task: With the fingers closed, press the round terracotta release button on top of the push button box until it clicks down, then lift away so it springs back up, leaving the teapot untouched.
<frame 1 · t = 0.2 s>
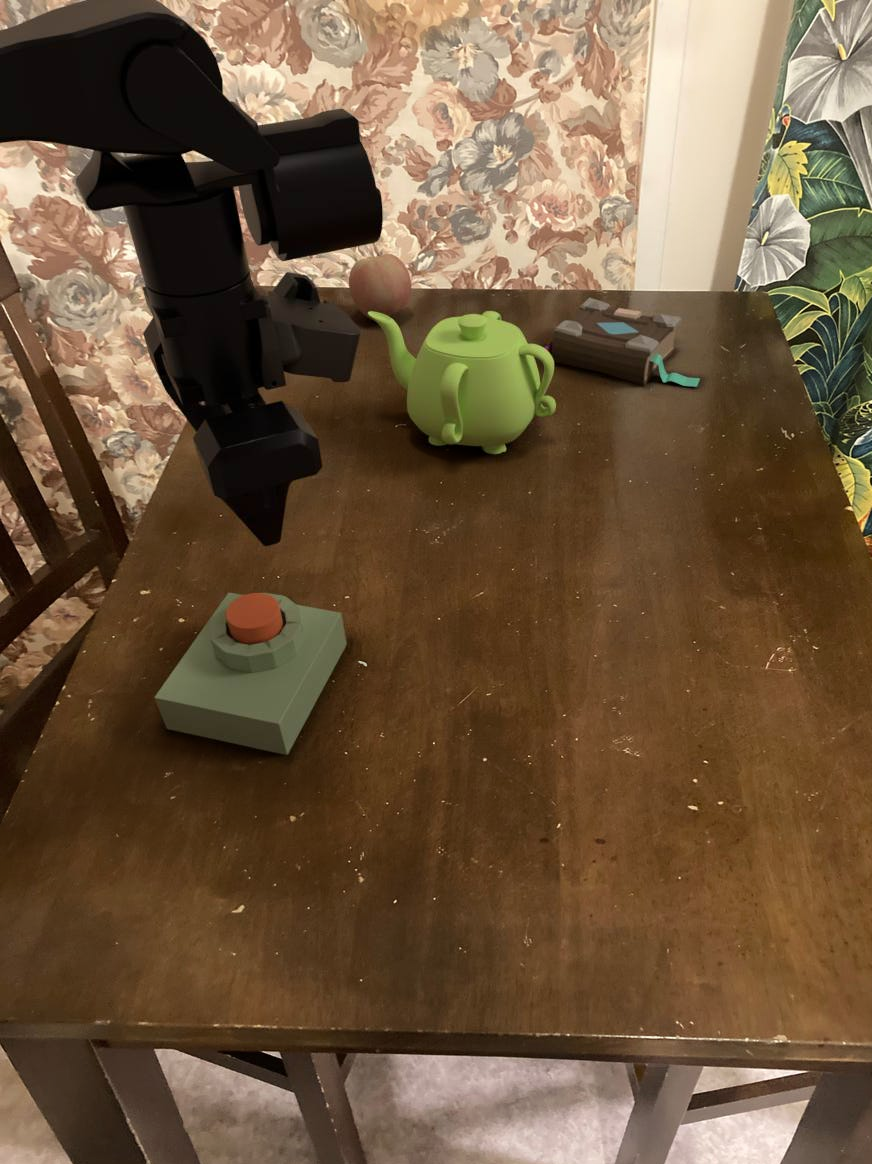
hand: (252, 505, 60), 17 cm above the table, tool pointing down, fingers open, 9 cm apart
push button box: (260, 685, 71), on the table
teapot: (465, 429, 98), on the table
book: (627, 359, 109), on the table
apple: (383, 318, 118), on the table
lid button: (254, 618, 68), point 6 cm above the table, slide at 0.1 cm
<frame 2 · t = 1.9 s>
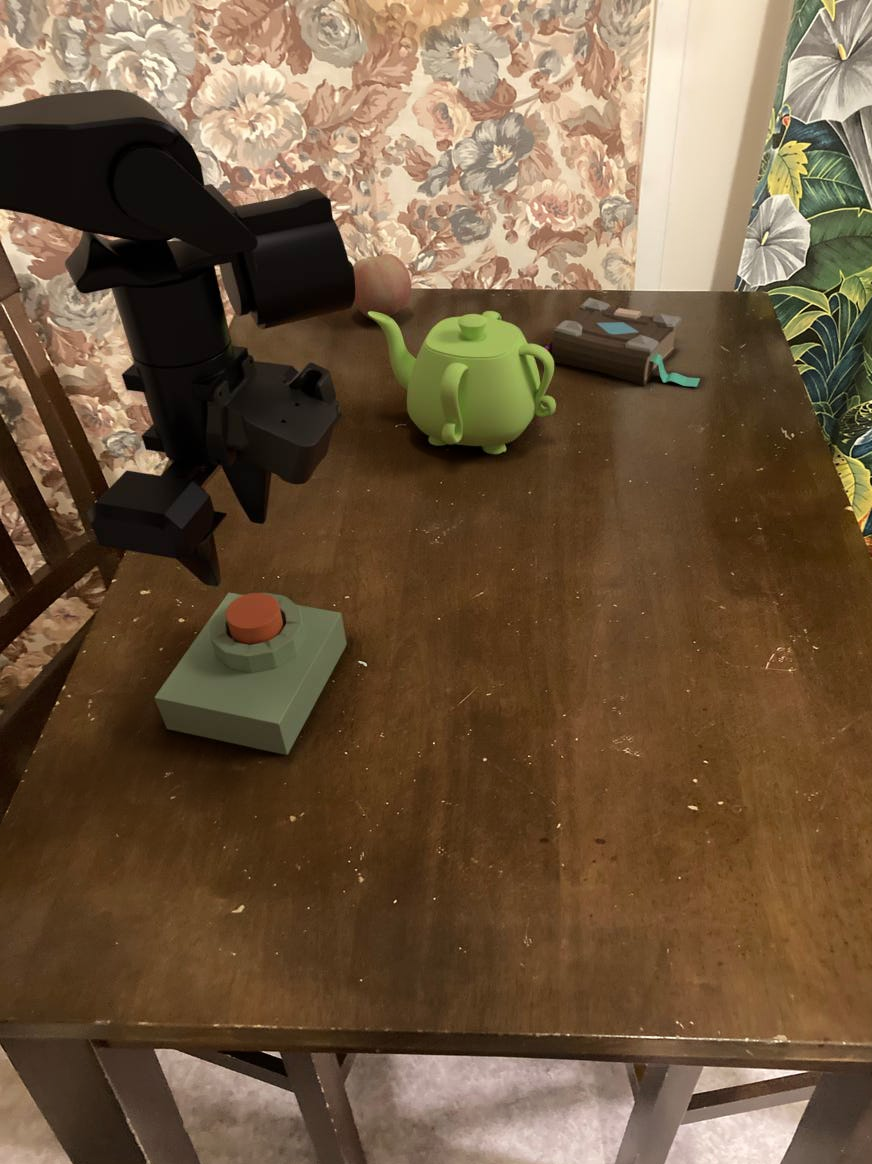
hand: (236, 552, 63), 12 cm above the table, tool pointing down, fingers open, 7 cm apart
nothing on the table moved.
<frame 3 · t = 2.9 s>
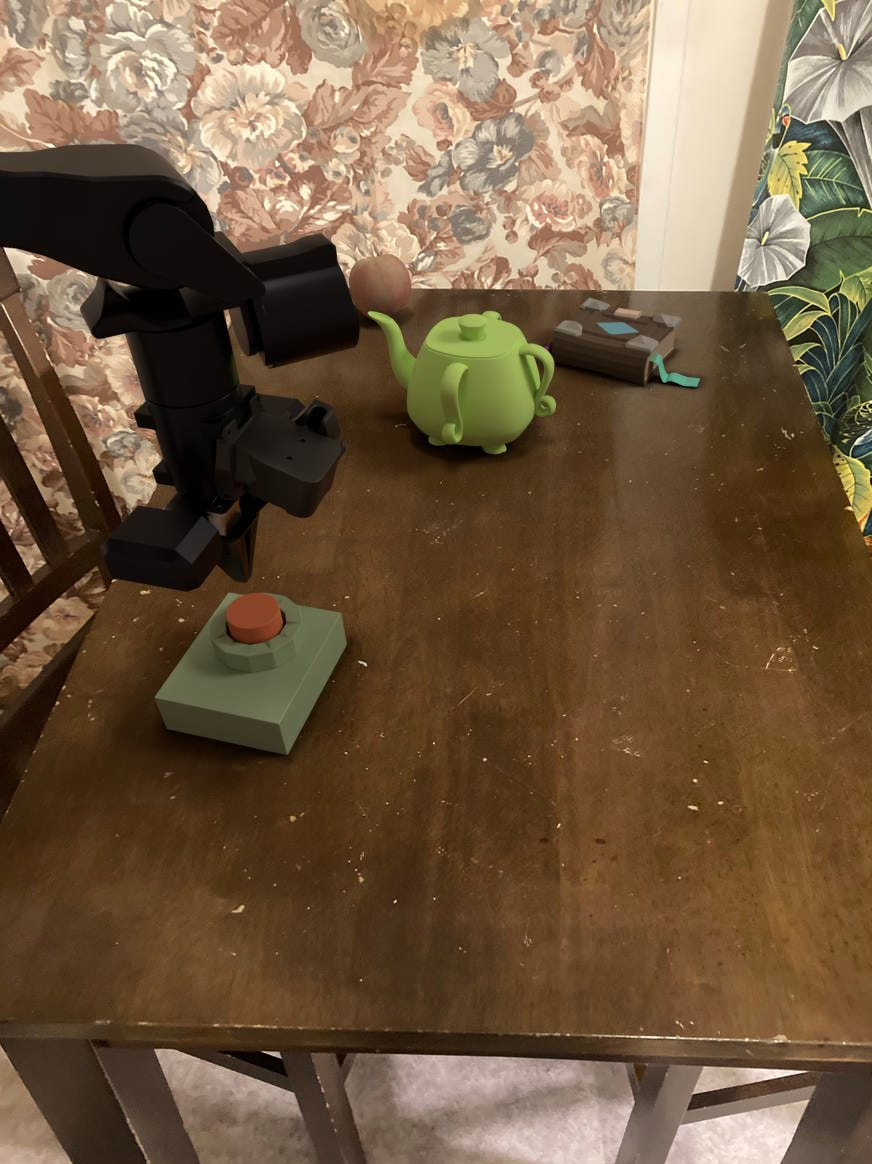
hand: (242, 579, 65), 10 cm above the table, tool pointing down, fingers closed
nothing on the table moved.
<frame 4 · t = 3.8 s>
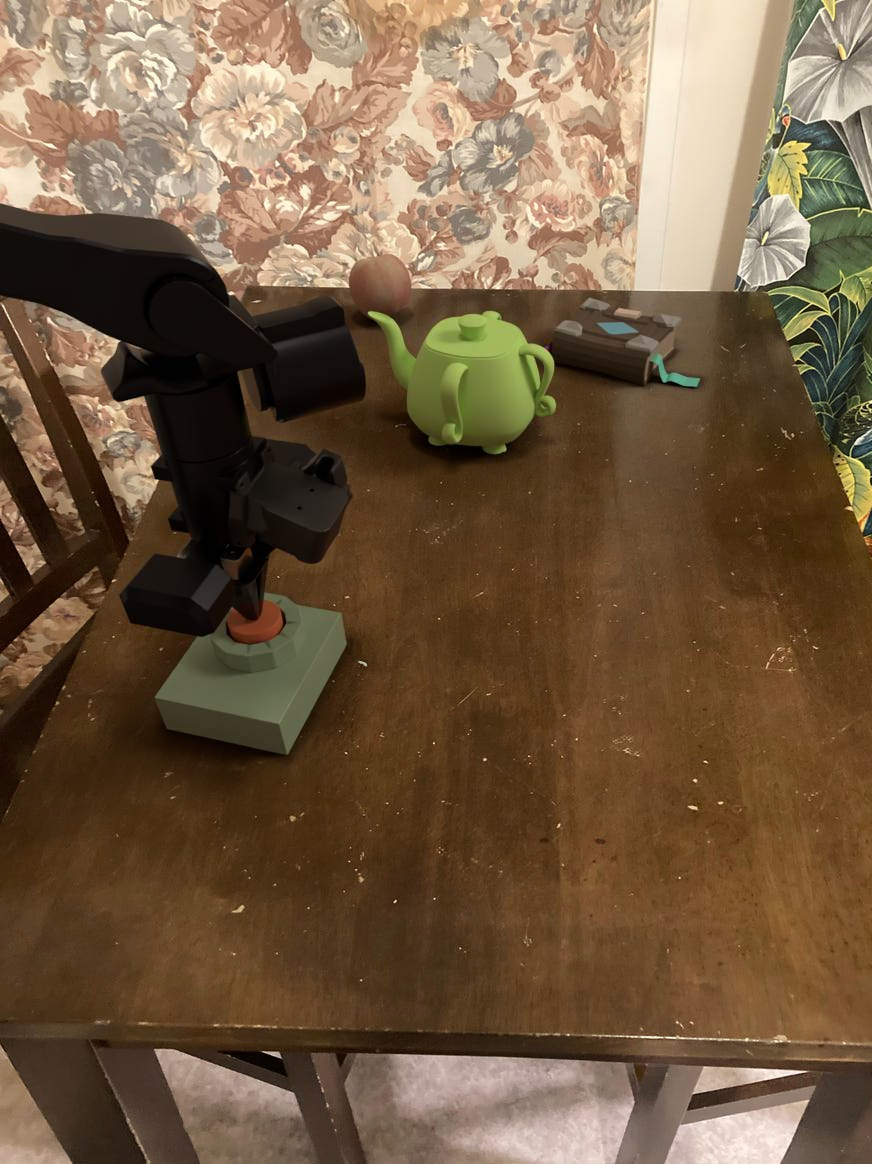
hand: (253, 616, 68), 6 cm above the table, tool pointing down, fingers closed, pressing on lid button
lid button: (256, 624, 68), point 5 cm above the table, slide at -0.6 cm, touching gripper
everything else where it was.
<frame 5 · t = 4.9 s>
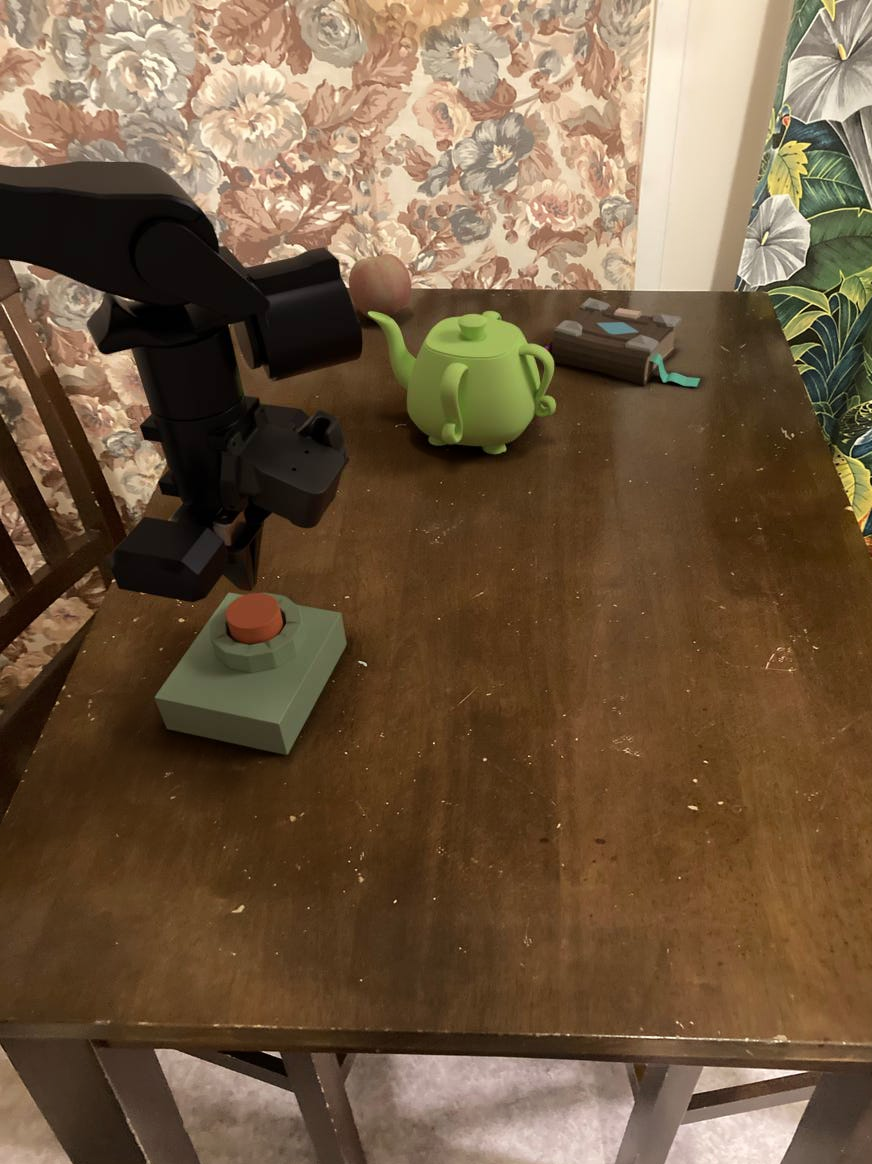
hand: (247, 587, 66), 9 cm above the table, tool pointing down, fingers closed
lid button: (254, 618, 68), point 6 cm above the table, slide at 0.1 cm
everything else where it was.
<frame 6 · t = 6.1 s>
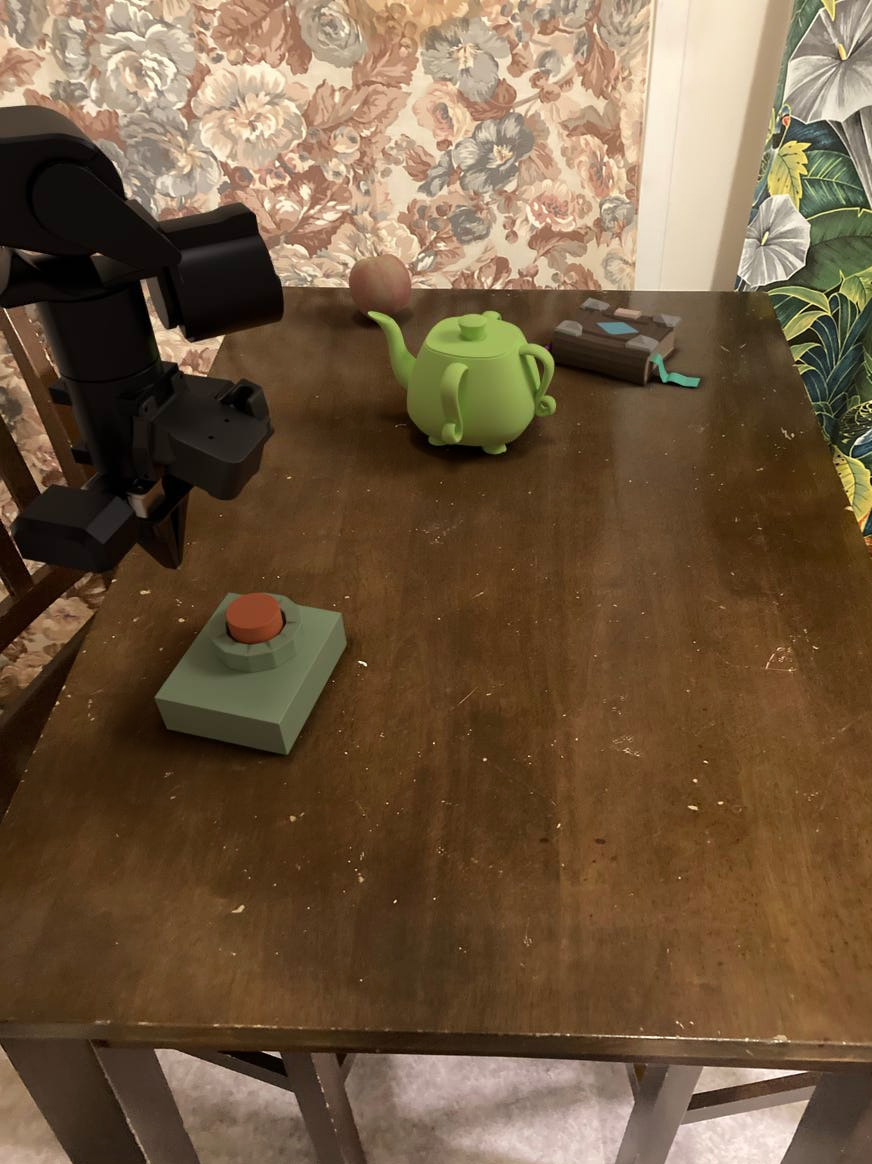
hand: (173, 565, 63), 12 cm above the table, tool pointing down, fingers closed
nothing on the table moved.
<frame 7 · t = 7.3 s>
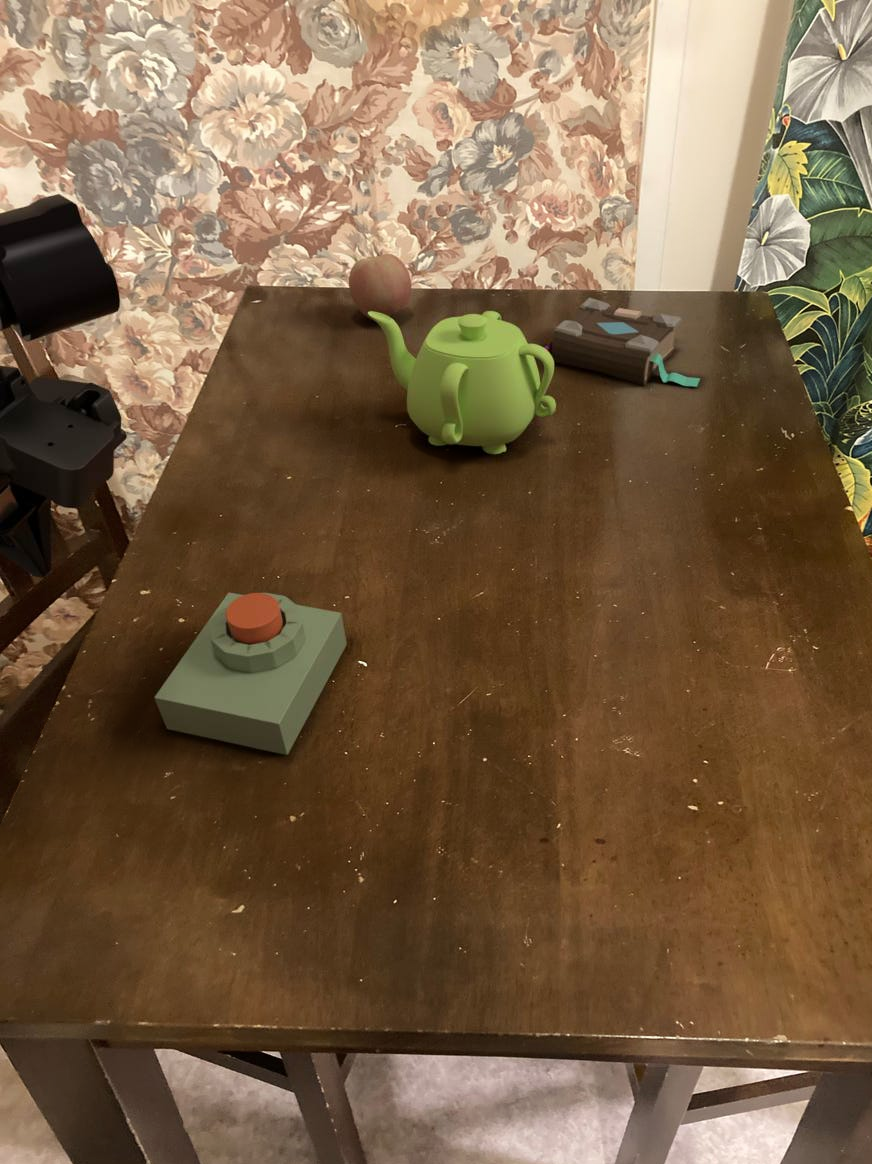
hand: (42, 573, 62), 13 cm above the table, tool pointing down, fingers closed
nothing on the table moved.
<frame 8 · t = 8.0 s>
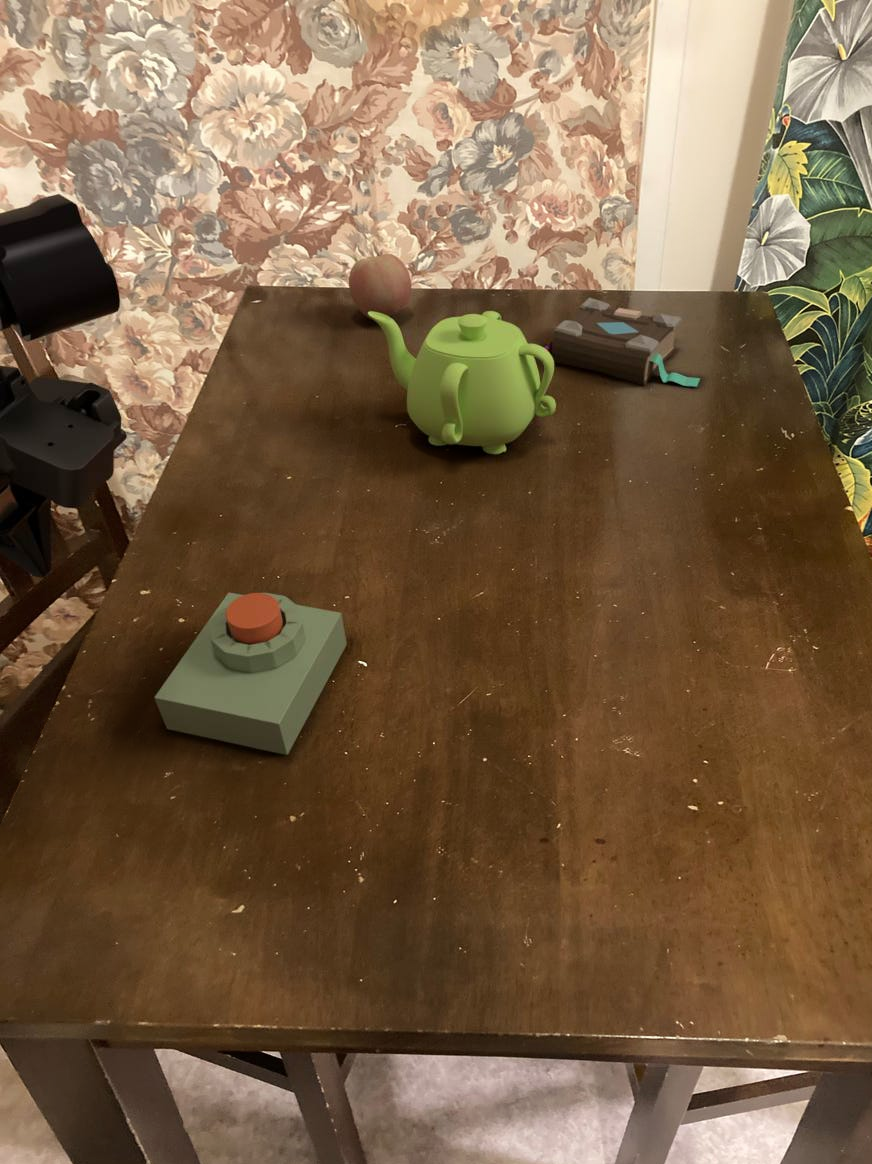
hand: (42, 573, 62), 13 cm above the table, tool pointing down, fingers closed
nothing on the table moved.
at the end: lid button pushed in 1.1 cm at the most during the clip, back to where it started at the end; lid button slide at 0.1 cm; teapot moved 0.2 cm from its start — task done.
